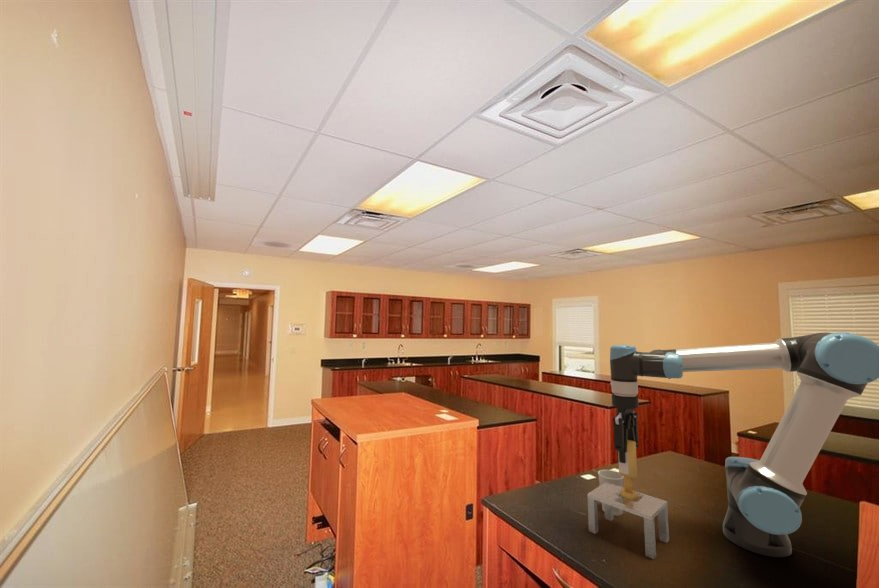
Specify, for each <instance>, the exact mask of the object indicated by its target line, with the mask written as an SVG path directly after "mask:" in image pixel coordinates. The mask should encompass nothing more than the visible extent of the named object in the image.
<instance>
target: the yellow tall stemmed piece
mask: <svg viewBox="0 0 879 588" xmlns="http://www.w3.org/2000/svg"><path fill="white" fill-rule="evenodd" d="M627 452H628V456H629V475H627V474H624V473H620V472H619V471H618V472H619V474H620V475H621V476H623V477H624V480H623V488H622V489H620V495H621V497H623V499H625V500H627V501H631V500H632V501H636V500H638V496H637V492H638V491H636V490H634V489H633V479H636V478H637V477H638V465H637V464H638V463H637V461H638V460H637V447H636V442H635V441H632V440H628V439H627ZM617 459H618V458H617ZM617 461H619V459H618V460H617Z"/></svg>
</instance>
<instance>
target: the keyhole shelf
mask: <svg viewBox="0 0 879 588" xmlns="http://www.w3.org/2000/svg"><path fill="white" fill-rule="evenodd" d="M622 488H624V486H623V487H620V486H617V485H614V484H611V483H608V482H605V483H603V484H602V485H600V484H599V485H598V486H597V487H595V488H594V489H593V490H591V491H590V492H588V493H587V496H586V497H587V515H588V518H587V519H588V521H587V522H588V532H590V533H592V534H594V535H596V534H598V532H599V521H598V519H599V516H598V515H599V514H598V502H600V503H601V504H602V503H604V511H603V512H604V513H603V514H604V519H605V520H607V521H610V522H612V521H613V520H614V515H613V507H616V508H619V509H621V510H623V511H624V512H627V513H630V514H632V515H636V516H639V517H641V518H643V527H644V528H643V533H644V534H643V535H644V552H645V557H647V558H649V559H652V560H655V559H656V557H657V546H656V528H655V524H656V523H655V518H656V517H657V522H658V524H657V525H658V539H659V541H660V542H663V543H665V544H668V542H669V541H670V533H669V532H670V531H669V516H668V515H669V514H668V501H667V500H664V499H662V498H658V497H656V496H655V497H654V496H651V495H648V494H645V493H642V492H639V491H636V492H637V498H638V497H639V498H640V499H639V500H638V501H636V500H629V502H627V503H626V504H624V503H623V504H621V503H619V502H617V501H619V500H620V496H618V495H619V494H620V489H622Z"/></svg>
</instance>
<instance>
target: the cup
mask: <svg viewBox="0 0 879 588" xmlns="http://www.w3.org/2000/svg"><path fill="white" fill-rule="evenodd" d="M597 475H598V482H599V483H598V484H599V486H600V485H602V484H603V483H605V482H608V483H611V484H614V485H617V486H620V487H623V488H624V477H623V476H621V475H620V474H619V471H617V470H616V471H615V470H612V469H611V470H610V469H599V470H598V472H597ZM618 496H620V500H619V501H617V502H619V503H621V504H624V503H623V501H624V498H623V497H621V495H620V494H619V495H618ZM601 509H602V511H603V512H604V503H602V502H601ZM623 511H624V510H621V509H619V508H616V507H613V516H617V517H619V516H622V515H623V513H624V512H623Z"/></svg>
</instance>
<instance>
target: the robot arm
mask: <svg viewBox="0 0 879 588" xmlns="http://www.w3.org/2000/svg"><path fill="white" fill-rule="evenodd" d="M609 351H610V352H609V368H610V383H609V385H610V386H611V392H612V394H611V405H612V406H613V407H614V408H616V410H617V411H616V416H613V417H612V423H613V439H614V440H613V442H614V451H617V454H618V455H617V457H618V458H617V459H619V460H618V472H620V473H624V474H627V475H629V456H628V452H627V439H628V440H632V441H635V442H636V449H638V448H639V447H640V445H639V429H638V428H639V427H638V415H639V414H638V413H639V412H637V411H634V410H636V409H639V396H638V394H639V386H638V385H639V383H638V377H648V378H658V379H659V378H661V379H669V380H670V379H682V378H683V376H684V373H692V372H694V373H695V372H720V371H722V372H723V371H724V372H725V371H747V370H749V371H751V370H772V369H773V370H774V369H775V370H776V369H778V370H779V369H780V370H783V371H785V372H787V373H790V372H793V373H794V372H796V375H797V376H798V378H799V380H800V383H799V385H798V387H797V389H796V391H795V393H794V394H793V396H792V398H791V400H790V401H789V404H788V406H787V407H786V409H785V411H784V414H783V415H782V417H781V419H780V421H779V423H778V425H777V427H776V428H775V431H774V433H773V434H772V436H771V439H770V440H769V442H768V443H767V446H766V448H765V450H764V452H763V454H762V456H761V458H760V459H755V458H750V457H742V456H728V457H726V458H725V462H724V463H725V465H724V468H725V477H726V490H727V502H728V503H727V505H728V506H727V507H728V508H727V510H726V513H725V517H724V520H723V521H722V532H723V533H722V534H723V535H724V537H725V538H726V539H727V540H729V541H730V542H731V543H733V544H735V545H736V546H738V547H741V548H742V549H744V550H747V551H750V552H752V553H755V554H759V555H762V556H766V557H767V556H768V557H773V558H787V557H790V556H791V555H792V554H793V550H792V549H793V548H792V543H791V539H790V537H789V535H790V534H792V533H794V532H796V531H798V529H799V528H800V526H801V525H802V523H803V518H802V511H801V508H800V507H801V506H802V503H803V502H804V501H805V498H806V497H807V495H808V492H807V490H806V487H804V484H803V483H804V481H805V479H806V477H807V475H808V473H809V471H810V470H811V469H812V466H813V464H814V462H815V461H816V460H817V457H818V455H819V453H820V451H821V450H822V448H823V445H824V444H825V442H826V441H827V439H828V436H829V435H830V433H831V431H832V429H833V428H834V426H835V424H836V422H837V420H838V418H839V417H840V414H841V413H842V411H843V410H844V407H845V405H846V403H847V402H848V400H849V399H853V398H856V397H857V398H859V397H861V396H862V394H863V392H864V391H865V389H866V388H867V386H868V384H869V383H873V382H875V381H876V380H878V379H879V344H877V343H876V342H875V341H873V340H871V339H870V338H867V337H865V336H862V335H858V334H854V333H849V332H842V331H841V332H816V333H811V334H807V335H806V334H805V335H800V336H794V337H783V338H777V339H776V340H775V341H774V342H763V343H760V342H759V343H747V344H734V345H733V344H732V345H717V346H716V345H715V346H703V347H700V346H699V347H689V348H675V349H671V348H670V349H653V350H652V351H649V352H643V351H638V350H637V348H636V346H635V345H631V344H629V345H628V344H613V345H612V346H611V347H610V349H609Z"/></svg>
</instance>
